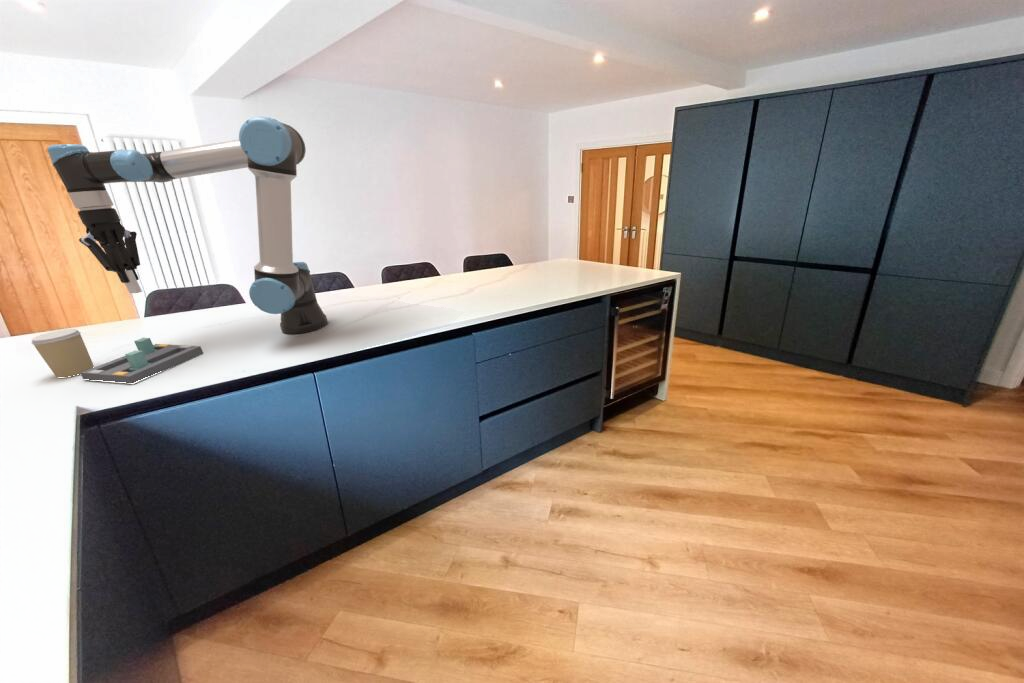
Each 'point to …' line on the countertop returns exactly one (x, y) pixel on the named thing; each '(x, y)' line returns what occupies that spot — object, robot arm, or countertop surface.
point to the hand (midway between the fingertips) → (135, 292)
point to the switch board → (159, 359)
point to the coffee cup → (63, 352)
